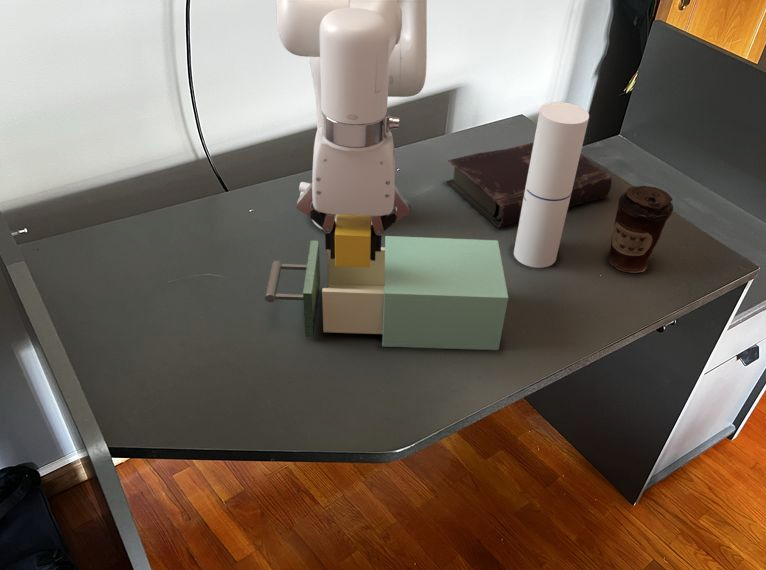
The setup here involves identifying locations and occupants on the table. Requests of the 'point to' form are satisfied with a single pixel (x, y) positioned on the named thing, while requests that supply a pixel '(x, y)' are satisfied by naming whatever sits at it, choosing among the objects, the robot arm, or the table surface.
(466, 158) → the diary
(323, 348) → the table surface
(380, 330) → the fridge drawer
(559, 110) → the cylindrical container
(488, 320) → the fridge
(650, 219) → the coffee cup
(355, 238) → the block
